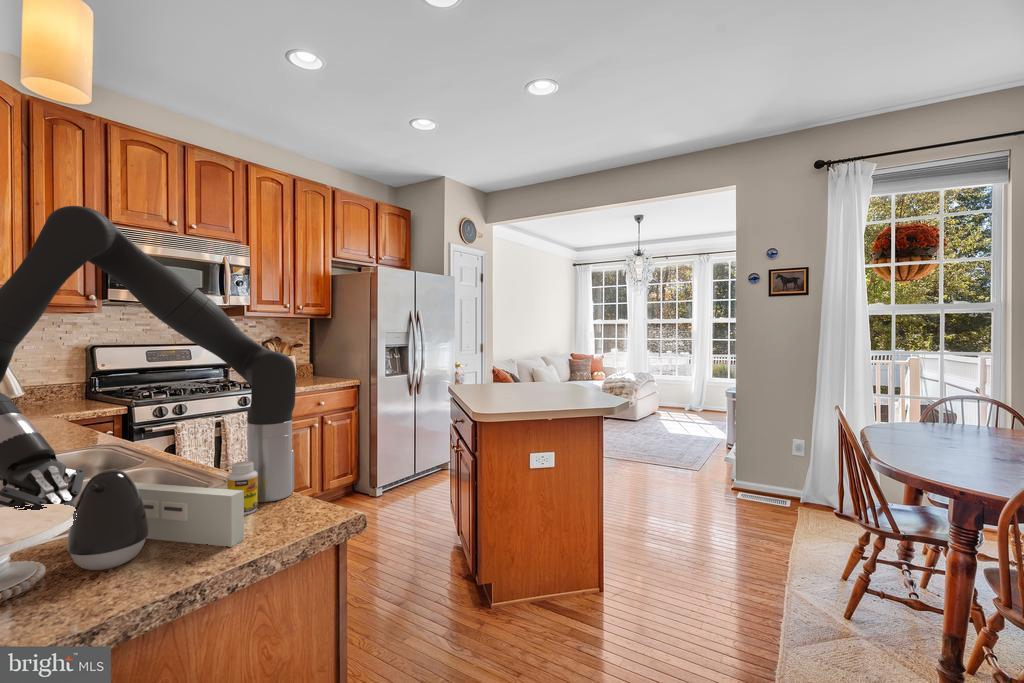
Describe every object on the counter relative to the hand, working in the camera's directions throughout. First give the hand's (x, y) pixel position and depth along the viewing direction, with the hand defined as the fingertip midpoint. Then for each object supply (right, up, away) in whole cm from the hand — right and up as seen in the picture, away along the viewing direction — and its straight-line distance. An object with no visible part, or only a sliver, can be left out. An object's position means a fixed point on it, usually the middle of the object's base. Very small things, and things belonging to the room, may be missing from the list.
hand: (73, 523), depth 81 cm
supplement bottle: (+16, -6, +21) cm, 27 cm away
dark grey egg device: (+7, -6, -1) cm, 9 cm away
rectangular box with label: (+11, -6, +9) cm, 15 cm away
